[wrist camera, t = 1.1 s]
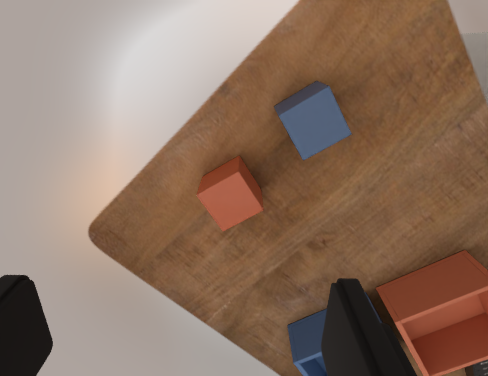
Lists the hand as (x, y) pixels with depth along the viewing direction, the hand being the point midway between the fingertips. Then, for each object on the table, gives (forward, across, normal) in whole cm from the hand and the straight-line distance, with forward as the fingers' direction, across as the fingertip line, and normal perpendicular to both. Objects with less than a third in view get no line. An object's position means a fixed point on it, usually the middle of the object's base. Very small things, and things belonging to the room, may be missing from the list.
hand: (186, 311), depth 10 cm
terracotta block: (+23, -1, +5) cm, 24 cm away
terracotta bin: (+23, -27, +21) cm, 41 cm away
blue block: (+23, -8, -2) cm, 24 cm away
